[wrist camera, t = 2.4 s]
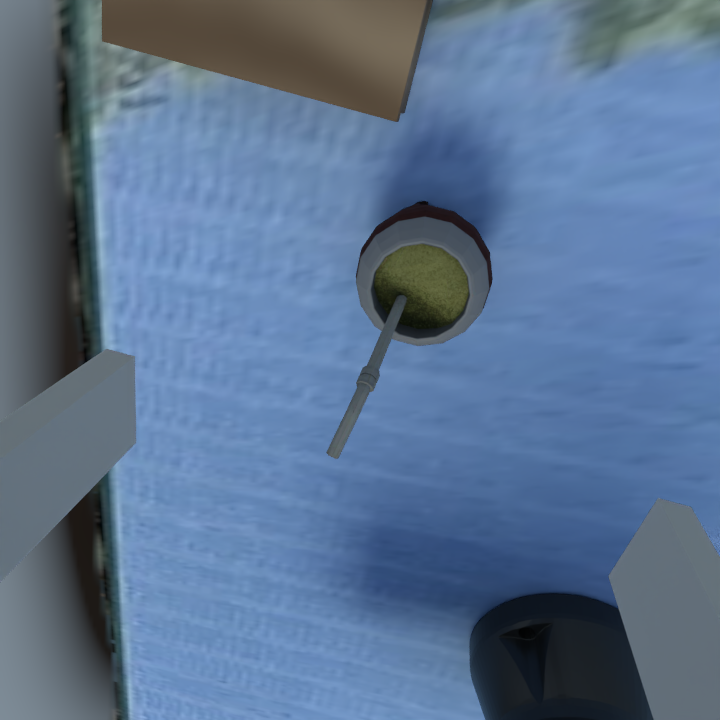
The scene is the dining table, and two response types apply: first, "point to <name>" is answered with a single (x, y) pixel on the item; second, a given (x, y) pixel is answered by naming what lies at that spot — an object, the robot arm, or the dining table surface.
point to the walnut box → (286, 44)
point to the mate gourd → (417, 288)
